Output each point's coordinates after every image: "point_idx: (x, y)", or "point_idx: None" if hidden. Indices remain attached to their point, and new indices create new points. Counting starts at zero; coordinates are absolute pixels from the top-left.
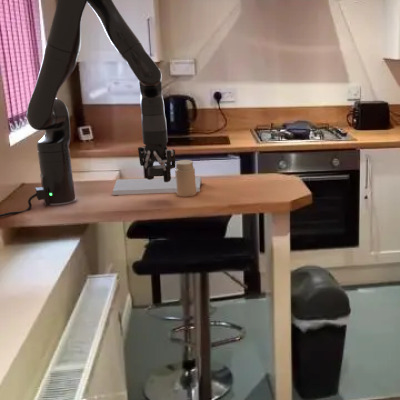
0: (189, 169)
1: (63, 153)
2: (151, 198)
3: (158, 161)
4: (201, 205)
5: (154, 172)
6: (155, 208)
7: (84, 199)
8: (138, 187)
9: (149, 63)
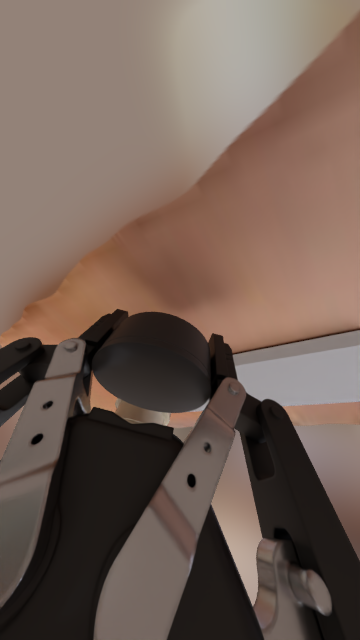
0: (118, 404)
1: None
2: (226, 322)
3: (66, 397)
4: (78, 293)
5: (138, 324)
6: (158, 231)
7: None
8: (287, 367)
9: None
